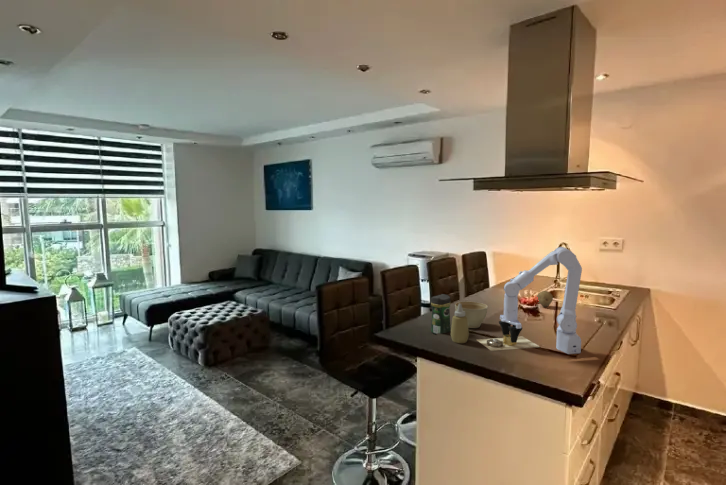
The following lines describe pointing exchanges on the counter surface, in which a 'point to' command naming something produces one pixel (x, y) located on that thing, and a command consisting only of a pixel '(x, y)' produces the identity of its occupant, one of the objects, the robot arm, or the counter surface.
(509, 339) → the brass gear
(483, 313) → the planter bowl
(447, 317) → the coffee jar
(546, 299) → the natural sponge
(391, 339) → the counter surface
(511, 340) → the robot arm
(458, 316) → the squeeze bottle
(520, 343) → the gear board
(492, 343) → the drive gear
